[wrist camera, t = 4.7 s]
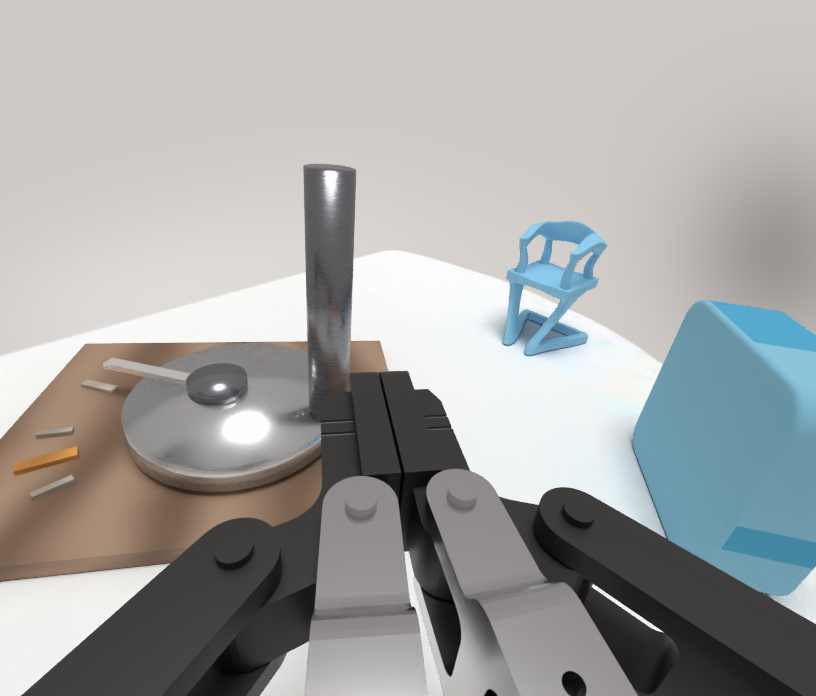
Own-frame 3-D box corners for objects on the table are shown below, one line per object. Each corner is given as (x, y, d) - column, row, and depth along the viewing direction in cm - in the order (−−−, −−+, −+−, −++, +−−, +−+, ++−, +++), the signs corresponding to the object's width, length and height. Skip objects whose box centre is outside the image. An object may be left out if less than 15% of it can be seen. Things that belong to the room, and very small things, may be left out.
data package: (779, 611, 22) (947, 426, 16) (685, 589, 22) (814, 403, 16) (690, 450, 32) (773, 302, 26) (627, 438, 33) (694, 290, 27)
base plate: (-113, 593, 19) (-129, 574, 18) (88, 354, 36) (84, 340, 35) (427, 535, 24) (430, 519, 23) (379, 350, 41) (379, 338, 40)
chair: (483, 335, 45) (507, 219, 39) (524, 315, 51) (551, 211, 45) (549, 367, 41) (587, 241, 35) (587, 341, 46) (625, 229, 40)
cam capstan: (25, 450, 24) (-119, 135, 16) (177, 344, 36) (135, 126, 28) (305, 519, 22) (294, 194, 14) (373, 382, 33) (388, 158, 26)
